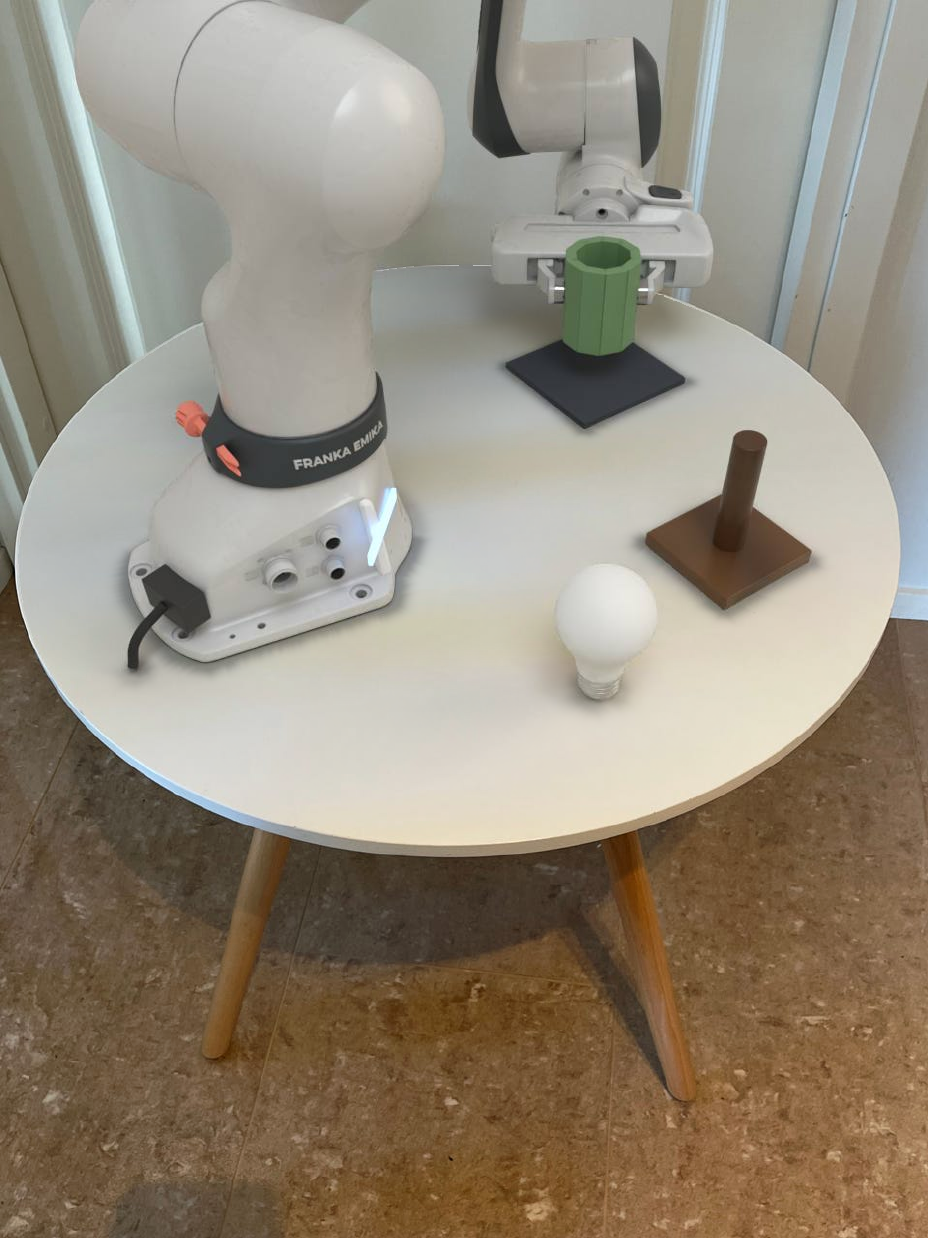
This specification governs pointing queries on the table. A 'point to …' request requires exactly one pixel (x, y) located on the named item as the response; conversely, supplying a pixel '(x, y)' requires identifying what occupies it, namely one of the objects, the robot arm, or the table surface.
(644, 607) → the light bulb
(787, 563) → the peg stand
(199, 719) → the table surface
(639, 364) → the mat
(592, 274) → the green tube
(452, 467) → the table surface
